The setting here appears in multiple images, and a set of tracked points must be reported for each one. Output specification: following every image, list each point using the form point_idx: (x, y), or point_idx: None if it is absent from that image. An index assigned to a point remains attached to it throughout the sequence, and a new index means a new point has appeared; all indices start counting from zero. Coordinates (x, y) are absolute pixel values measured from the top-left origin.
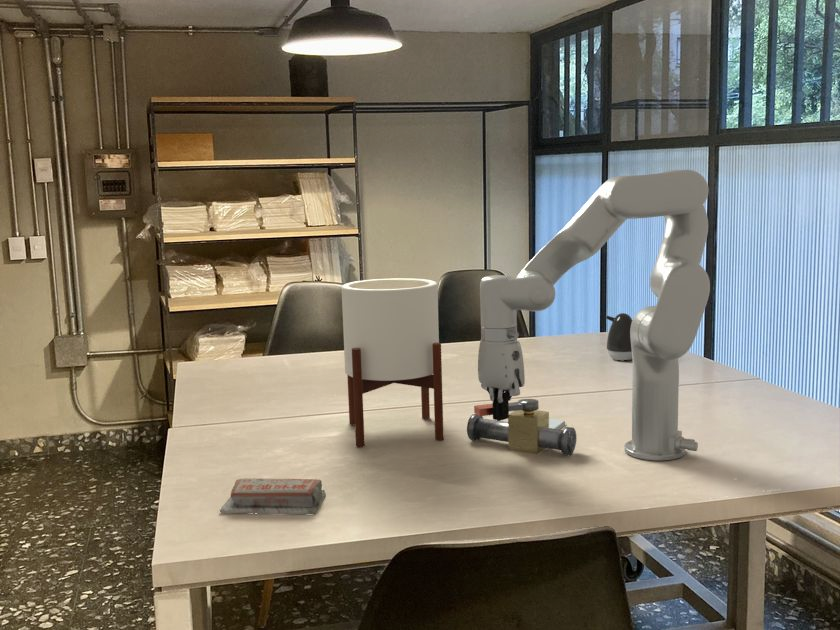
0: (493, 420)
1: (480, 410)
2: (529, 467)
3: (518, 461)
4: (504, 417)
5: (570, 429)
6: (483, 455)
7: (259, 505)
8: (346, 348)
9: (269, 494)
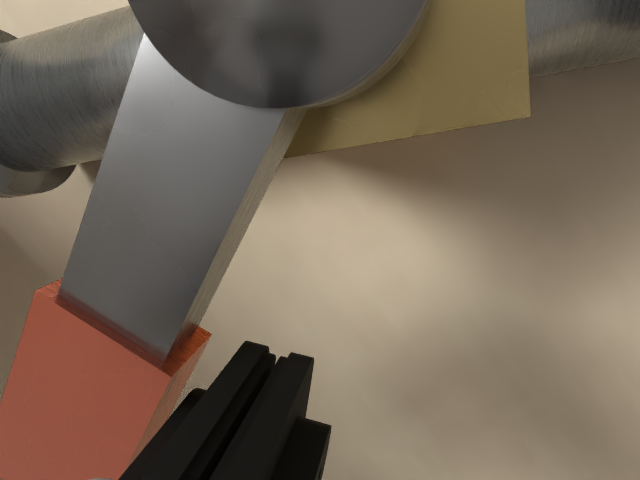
0: (55, 86)
1: None
2: (549, 323)
3: (446, 275)
4: (304, 412)
5: None
6: (252, 290)
7: None
8: None
9: None
